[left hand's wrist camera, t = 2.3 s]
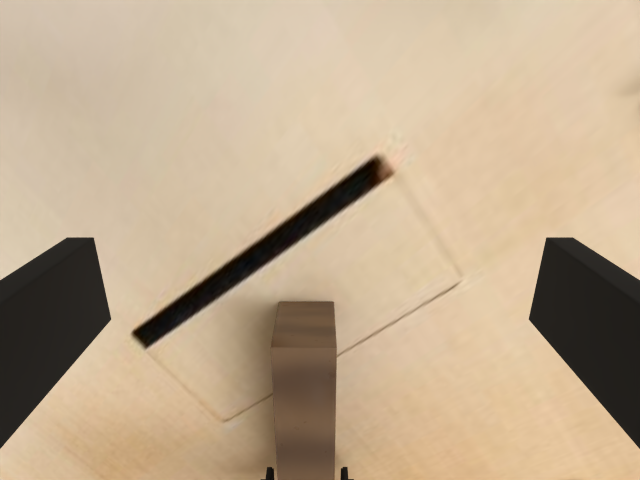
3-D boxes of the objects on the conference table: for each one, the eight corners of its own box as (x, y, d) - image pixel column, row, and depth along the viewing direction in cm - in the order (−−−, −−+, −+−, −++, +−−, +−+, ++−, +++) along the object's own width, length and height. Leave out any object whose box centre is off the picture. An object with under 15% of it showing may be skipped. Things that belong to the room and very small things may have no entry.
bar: (279, 301, 43) (270, 347, 36) (333, 301, 43) (336, 347, 36) (286, 472, 52) (280, 536, 45) (331, 472, 52) (333, 536, 45)
